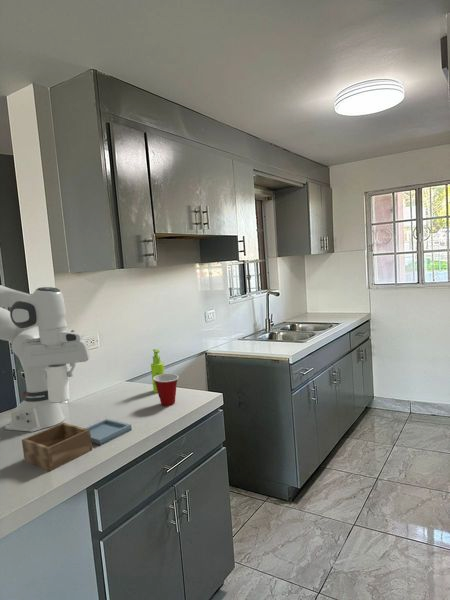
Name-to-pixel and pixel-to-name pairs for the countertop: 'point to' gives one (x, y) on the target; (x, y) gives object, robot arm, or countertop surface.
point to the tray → (107, 431)
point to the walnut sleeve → (56, 446)
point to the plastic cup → (166, 388)
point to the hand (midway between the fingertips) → (59, 377)
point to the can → (58, 383)
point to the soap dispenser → (156, 367)
